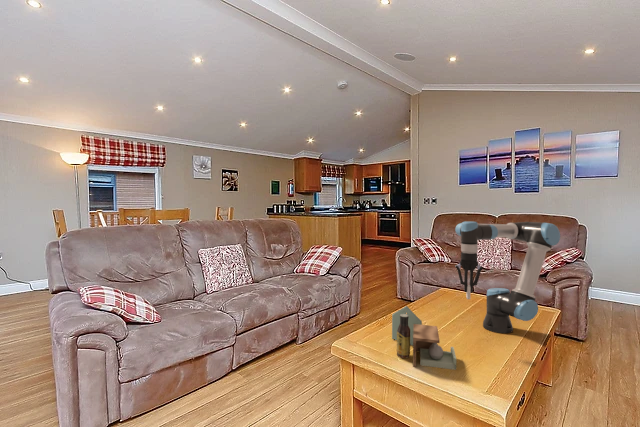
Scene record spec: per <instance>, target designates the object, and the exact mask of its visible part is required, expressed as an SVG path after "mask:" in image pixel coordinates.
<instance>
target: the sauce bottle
mask: <svg viewBox="0 0 640 427" xmlns="http://www.w3.org/2000/svg"><path fill="white" fill-rule="evenodd" d="M408 318H409V316H408V315H407V313H406V314H400V324H399V327H398V330H397V341H396V355H397V357H399V358H400V359H407V358H409V357H410V356H411V355H410V354H411V345H410V328H409V326H408Z"/></svg>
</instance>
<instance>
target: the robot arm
mask: <svg viewBox="0 0 640 427" xmlns="http://www.w3.org/2000/svg"><path fill="white" fill-rule="evenodd" d="M454 230H455V234H456V235H457V236H459V237H460V241H461V242H460V251H461V252H460V261H459V263H458V264H456V265H454V266H455V269H456V270H457V273H458V278H459V281H460V282H459V283H460V284H461V285H462V286H464V287H463V291H464V293H465V296H466V300H471V293H474V292H473V291H474V286H477V285H478V283H479V280H480V275H481V273H482V271H483V269H484V267H483V266H482V265H480V264H479V262H478V253H477V252H478V241H483V240H485V241H487V240H488V241H490V240H494V239H496V238H505V239H507V240H515V241H521V242H525V243H526V246H527V250H526V253H525V257H524V260H523V263H522V266H521V270H520V272H519V276H518V278H517V281H516V285H515V287H514V288H513V289H511V290H510V289H509V288H504V287H491V288H488V289H487V290H486V313H485V316H484V319H483V322H482V327H483V328H484V329H485V330H487V331H489V332H493V333H496V334H497V333H498V334H509V333H513V331H514V330H513V329H514V328H513V324H512V320H511V317H513V318H515V319H517V320H519V321H520V320H521V321H524V322H528V321H531V320H533V319H535V317H536V316H537V315H538V312H539V307H538V305H539V304H538V303H537V302H536V296H535V295H534V294H535V290H536V287H537V284H538V280H539V277H540V274H541V270H542V268H543V266H544V265H543V264H544V262H545V258H546V255H547V252H549V251H551V250H552V248H553V246H556V245H558V244H559V243H560V240H561V233H560V230H559V227H558V226H557V225H556V224H553V223H552V222H551V223H549V222H537V221H536V222H535V221H520V222H519V221H518V222H507V223H503V224H502V223H478V222H477V221H462V222H461V223H458V224H457V225H456V226H455V229H454ZM461 268H462V270H464V274H463V275H464V276H462V272H461ZM476 269H477V270H476ZM475 270H476V274H475V278H474V271H475ZM468 272H469V273H468ZM468 274H469V277H468ZM463 277H464V279H463ZM468 278H469V284H468Z"/></svg>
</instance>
